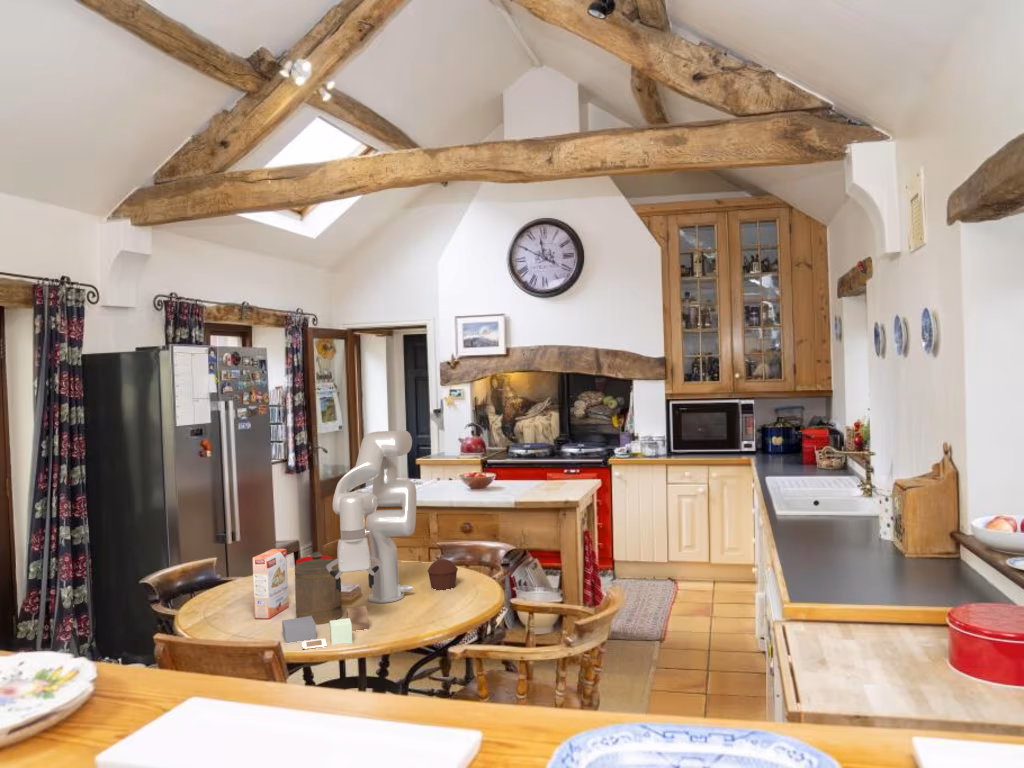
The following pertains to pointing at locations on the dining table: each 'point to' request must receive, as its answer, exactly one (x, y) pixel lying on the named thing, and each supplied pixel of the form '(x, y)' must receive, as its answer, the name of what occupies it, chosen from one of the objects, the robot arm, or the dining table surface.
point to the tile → (314, 643)
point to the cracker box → (270, 583)
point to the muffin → (442, 574)
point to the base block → (299, 629)
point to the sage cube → (341, 631)
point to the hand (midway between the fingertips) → (355, 589)
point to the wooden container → (317, 590)
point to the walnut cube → (358, 617)
